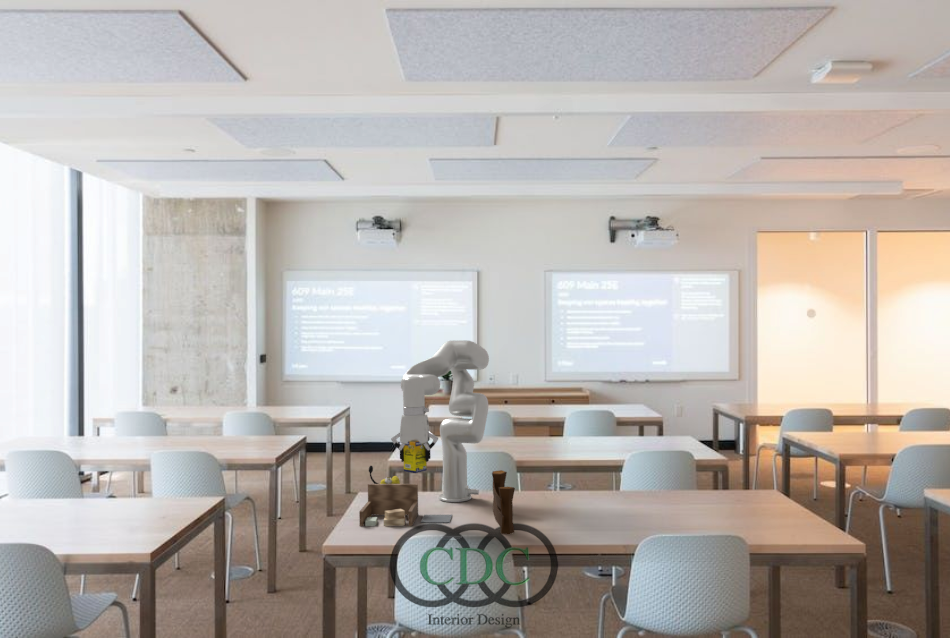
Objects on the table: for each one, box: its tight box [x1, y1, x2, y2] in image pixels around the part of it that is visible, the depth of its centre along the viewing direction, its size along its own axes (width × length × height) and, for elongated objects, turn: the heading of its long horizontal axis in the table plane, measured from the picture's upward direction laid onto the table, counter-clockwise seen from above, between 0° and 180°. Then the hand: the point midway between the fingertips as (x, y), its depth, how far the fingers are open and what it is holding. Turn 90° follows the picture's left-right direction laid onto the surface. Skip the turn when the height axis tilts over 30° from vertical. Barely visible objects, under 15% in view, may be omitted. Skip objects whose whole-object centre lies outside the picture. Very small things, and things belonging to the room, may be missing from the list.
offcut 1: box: [364, 516, 378, 527], centre depth 259 cm, size 4×5×2 cm
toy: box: [368, 465, 401, 484], centre depth 290 cm, size 6×14×15 cm
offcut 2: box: [384, 509, 406, 520], centre depth 259 cm, size 6×4×2 cm, turn 118°
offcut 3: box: [383, 517, 406, 527], centre depth 259 cm, size 7×4×2 cm, turn 90°
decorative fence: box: [491, 470, 516, 535], centre depth 259 cm, size 34×6×15 cm, turn 3°
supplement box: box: [403, 441, 427, 474], centre depth 265 cm, size 6×6×11 cm
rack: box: [358, 483, 419, 527], centre depth 264 cm, size 18×16×11 cm
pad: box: [420, 514, 453, 524], centre depth 264 cm, size 10×10×1 cm
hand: (415, 460), depth 265 cm, fingers closed on supplement box, 8 cm apart
